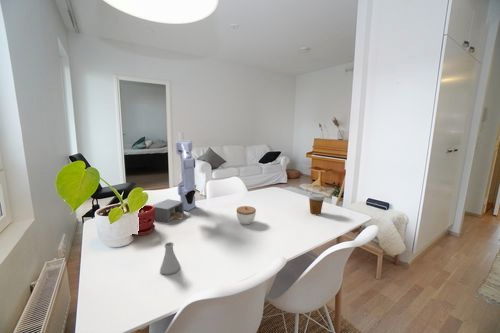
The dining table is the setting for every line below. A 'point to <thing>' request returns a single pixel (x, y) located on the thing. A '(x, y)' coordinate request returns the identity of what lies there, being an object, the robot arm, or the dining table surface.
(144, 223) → the plant pot
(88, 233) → the dining table surface
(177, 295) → the dining table surface
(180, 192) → the robot arm
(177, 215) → the tan t-shaped block
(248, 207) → the lidded jar
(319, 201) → the disposable coffee cup
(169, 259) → the flask
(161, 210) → the grey slotted box
